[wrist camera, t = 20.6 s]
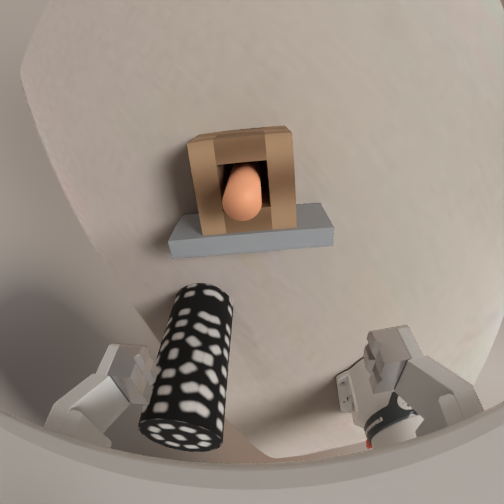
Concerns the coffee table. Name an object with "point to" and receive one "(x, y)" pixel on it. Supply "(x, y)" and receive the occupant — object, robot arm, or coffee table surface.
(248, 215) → the orange rounded capsule
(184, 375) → the white-spotted black cylinder
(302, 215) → the slab
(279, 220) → the block
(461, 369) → the coffee table surface
